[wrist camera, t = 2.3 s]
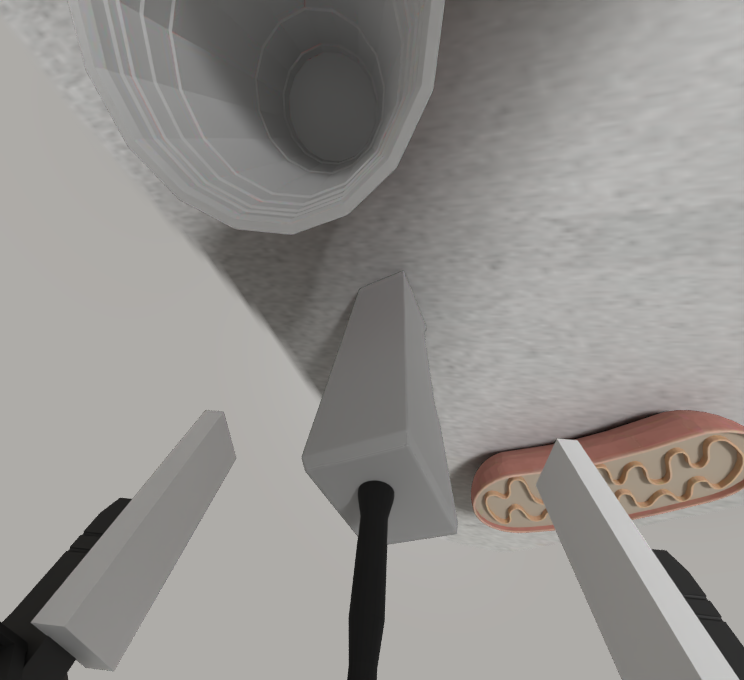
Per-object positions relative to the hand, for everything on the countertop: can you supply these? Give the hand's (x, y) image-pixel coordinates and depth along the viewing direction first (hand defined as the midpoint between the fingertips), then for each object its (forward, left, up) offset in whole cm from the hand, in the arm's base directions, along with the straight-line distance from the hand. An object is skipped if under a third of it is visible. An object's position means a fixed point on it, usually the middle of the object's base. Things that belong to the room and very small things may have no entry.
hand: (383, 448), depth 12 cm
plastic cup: (-13, -5, -14) cm, 20 cm away
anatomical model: (+14, +20, -15) cm, 28 cm away
